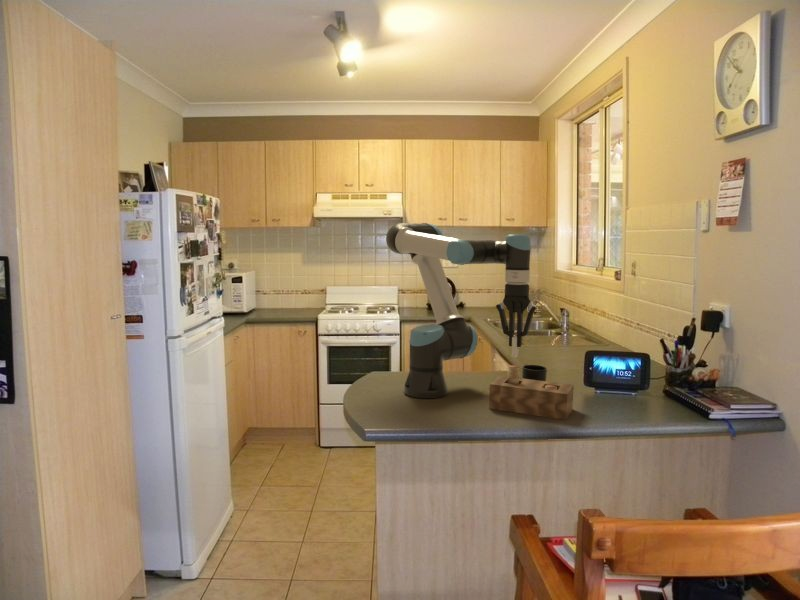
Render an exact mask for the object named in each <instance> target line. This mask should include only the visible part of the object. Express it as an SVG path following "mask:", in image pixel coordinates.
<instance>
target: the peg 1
mask: <svg viewBox="0 0 800 600" xmlns="http://www.w3.org/2000/svg"><path fill="white" fill-rule="evenodd" d="M507 377H508V384H516V385H519V378H520V366H519V365H508V366H507Z"/></svg>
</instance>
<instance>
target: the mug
mask: <svg viewBox="0 0 800 600" xmlns="http://www.w3.org/2000/svg"><path fill="white" fill-rule="evenodd" d="M521 368H522V371H521V373H522V374H521V377H522V378H523V379H531V380H539V381H547V374H548V373H547V372H548V370H547V367H545V366H542V365H539V364H538V365H537V364H524V365H523V366H522V367H521Z"/></svg>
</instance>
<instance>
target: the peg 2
mask: <svg viewBox="0 0 800 600" xmlns="http://www.w3.org/2000/svg"><path fill="white" fill-rule="evenodd" d="M545 388H547V389H555V390H557V387H556V386H553V385H546V386H545Z"/></svg>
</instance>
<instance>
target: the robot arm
mask: <svg viewBox="0 0 800 600" xmlns="http://www.w3.org/2000/svg"><path fill="white" fill-rule="evenodd" d="M385 242H386V245H387V247H388V249H389V250H390V251H391V252H394V253H396V254H399V255H400V254H401V255H410V258H411V261H412V263H413V264H417V266H418V269H419V270H418V271H419V272H420V275H421V279H422V282H423V285H424V287H425V291H426V293H427V297H428V301H429V303H430V306H431V309H432V312H433V315H434V319H435V321H436V323H435V324H434V323H431V324H430V323H429V324H422V325H418V326H416V327H414V328H412V329H411V331H410V333H409V335H410V336H409V341H408V343H409V365H408V366H409V369H408V374H407V377H406V380H405V382H404V385H403V392H404V394H405V395H406V396H409V397H412V398H418V399H437V398H442V397H445V396H446V395H448V384H447V381H446V379H445V378H446V377H445V375H444V361H449V360H450V361H451V360H457V359H458V360H459V359H464V358H467V357H469V356H472V354H474V352H476V350H477V347H478V342H479V340H478V339H479V338H478V333H477V330H476V329H475V327H473V326H472V325H470V324H467V322H466V318H465V317H464V316H463V315H460V314H459V311H458V308H457V306H456V303H455V299H454V296H453V294H452V291H451V288H450V285H449V282H448V278H447V276H446V273H445V271H444V268H443V265H442V262H441V260H445V261H449V262H450V263H451V264H454V265H460V266H463V265H475V264H476V265H483V264H484V265H485V264H487V265H488V264H496V265H497V264H498V265H499V264H500V265H503V264H504V265H505V268H504V269H505V271H504V272H505V273H504V274H505V275H504V281H505V284H504V298H503V300H502V302H500V303H497V304H496V306H495V307H496V310H497V311H498V313H499V319H500V322H501V328H502V332H503V335H506V336H508V347H511V358H518V357H519V348H521V347H522V345H523V343H522V342H523V337H525V336H527V335H528V334H529V331H530V328H531V325H532V321H533V317H534V313H535V312H536V310H537V309H538V307H537V305H534V304H533V303H531V300H530V285H529V283H530V278H531V277H530V272H531V271H530V267H531V266H530V265H531V264H530V263H531V262H530V261H531V249H532V247H531V236H530V235H529V234H520V233H519V234H517V233H516V234H513V233H512V234H507V235H506V238H505V240H496V239H495V240H493V239H490V240H489V239H486V240H481V239H480V240H479V239H478V240H474V239H473V240H471V239H461V238H456V237H455V238H454V237H449V236H443V233H442V231H441V230H440V228H439V227H438V226H437V225H435V224H431V223H426V222H424V223H423V222H421V223H411V222H409V223H408V222H399V223H395V224H394V225H392V226H391V227H390V228H389V229H388V230H387V232H386V237H385ZM505 308H506V309H507V310H508V316H509V317H508V319H507V316H506V311H505ZM527 308H528V309H527ZM526 309H527V310H528V313H527V317H526V320H525V323H524V321H523V320H524V312H525V311H526ZM516 318H517V319H516ZM515 319H516V320H517V322H515V321H516V320H515ZM515 323H516V325H515ZM523 324H524V325H523ZM515 327H516V333H515Z"/></svg>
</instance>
